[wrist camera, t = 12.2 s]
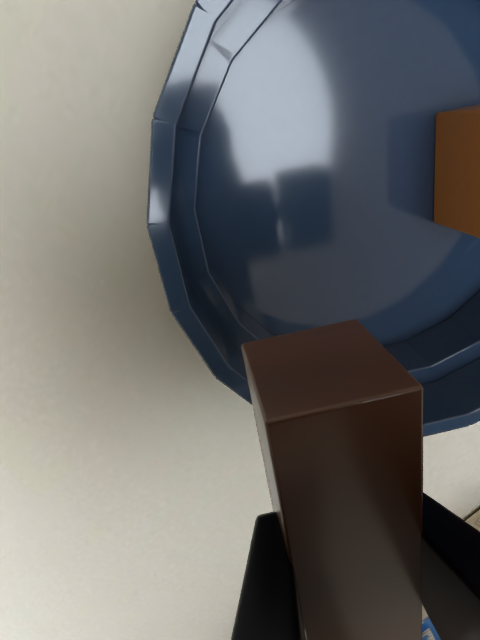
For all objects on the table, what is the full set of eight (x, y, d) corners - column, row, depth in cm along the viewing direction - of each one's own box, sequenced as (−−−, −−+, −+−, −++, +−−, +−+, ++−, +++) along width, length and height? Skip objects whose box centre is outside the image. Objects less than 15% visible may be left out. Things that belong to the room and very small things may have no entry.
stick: (373, 567, 11) (423, 678, 8) (288, 588, 11) (316, 705, 8) (356, 317, 8) (425, 386, 6) (240, 342, 8) (264, 422, 6)
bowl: (540, 328, 20) (645, 384, 16) (208, 404, 20) (217, 486, 15) (600, -120, 14) (812, -249, 9) (97, -30, 13) (51, -120, 8)
